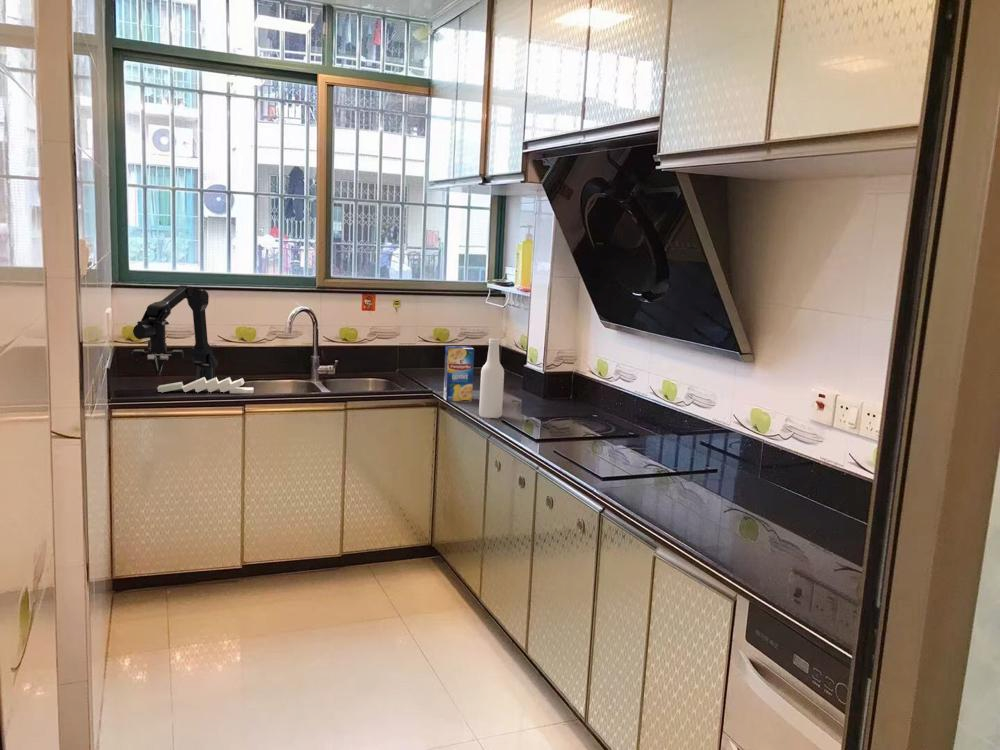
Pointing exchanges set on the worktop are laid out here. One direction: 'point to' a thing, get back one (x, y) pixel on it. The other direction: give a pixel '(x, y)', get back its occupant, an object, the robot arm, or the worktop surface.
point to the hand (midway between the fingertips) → (158, 375)
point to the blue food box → (458, 373)
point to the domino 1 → (170, 387)
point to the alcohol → (491, 383)
